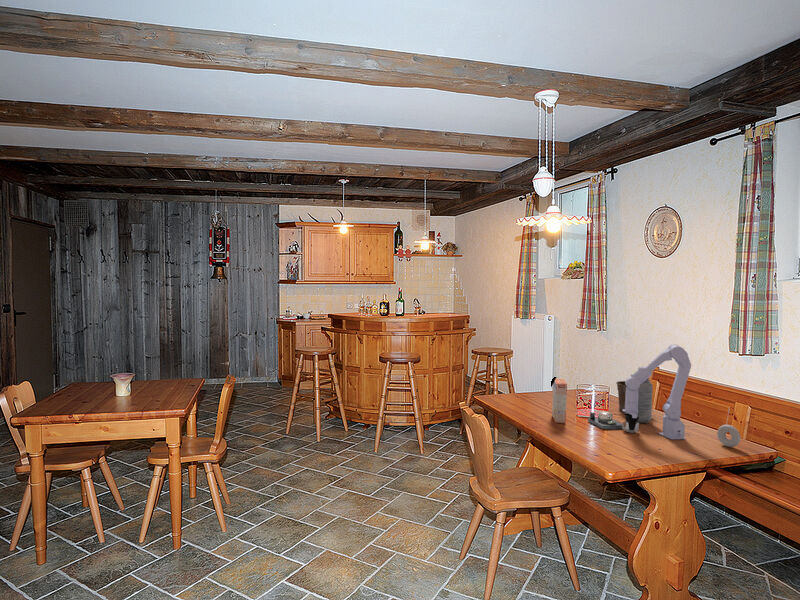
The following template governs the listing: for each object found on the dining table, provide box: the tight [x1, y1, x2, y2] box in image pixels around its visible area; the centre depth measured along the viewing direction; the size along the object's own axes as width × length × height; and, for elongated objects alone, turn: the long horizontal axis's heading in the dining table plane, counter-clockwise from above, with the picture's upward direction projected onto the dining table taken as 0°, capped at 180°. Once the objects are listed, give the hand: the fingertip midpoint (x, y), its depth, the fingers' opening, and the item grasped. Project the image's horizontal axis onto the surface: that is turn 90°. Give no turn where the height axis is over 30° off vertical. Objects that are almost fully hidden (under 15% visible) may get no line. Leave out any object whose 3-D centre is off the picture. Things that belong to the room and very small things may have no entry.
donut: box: [716, 424, 741, 448], centre depth 228 cm, size 10×4×10 cm, turn 23°
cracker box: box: [551, 378, 568, 424], centre depth 268 cm, size 14×6×21 cm, turn 168°
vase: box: [637, 378, 654, 424], centre depth 267 cm, size 12×12×23 cm
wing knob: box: [621, 420, 640, 434], centre depth 249 cm, size 7×5×5 cm
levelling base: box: [587, 411, 623, 430], centre depth 260 cm, size 14×12×6 cm
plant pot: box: [615, 380, 627, 413], centre depth 288 cm, size 16×16×16 cm
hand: (630, 428), depth 249 cm, fingers closed on wing knob, 3 cm apart
